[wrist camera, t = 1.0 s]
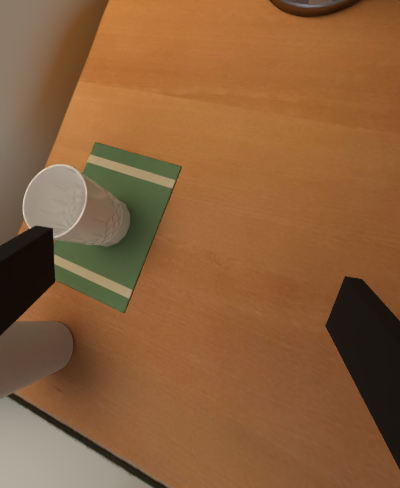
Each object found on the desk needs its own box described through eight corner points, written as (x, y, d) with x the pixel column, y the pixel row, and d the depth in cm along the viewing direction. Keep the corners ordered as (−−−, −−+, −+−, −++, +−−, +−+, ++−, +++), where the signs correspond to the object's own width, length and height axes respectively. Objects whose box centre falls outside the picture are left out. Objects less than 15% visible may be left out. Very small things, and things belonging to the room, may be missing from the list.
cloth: (96, 143, 43) (95, 141, 42) (182, 167, 38) (180, 166, 38) (44, 273, 42) (41, 273, 41) (125, 312, 38) (123, 313, 37)
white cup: (83, 197, 41) (24, 169, 32) (135, 190, 39) (88, 158, 30) (82, 253, 40) (20, 241, 31) (135, 248, 38) (85, 234, 29)
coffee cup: (12, 354, 41) (-134, 389, 27) (47, 295, 41) (-80, 298, 27) (58, 399, 38) (-77, 466, 24) (96, 336, 38) (-16, 364, 24)
